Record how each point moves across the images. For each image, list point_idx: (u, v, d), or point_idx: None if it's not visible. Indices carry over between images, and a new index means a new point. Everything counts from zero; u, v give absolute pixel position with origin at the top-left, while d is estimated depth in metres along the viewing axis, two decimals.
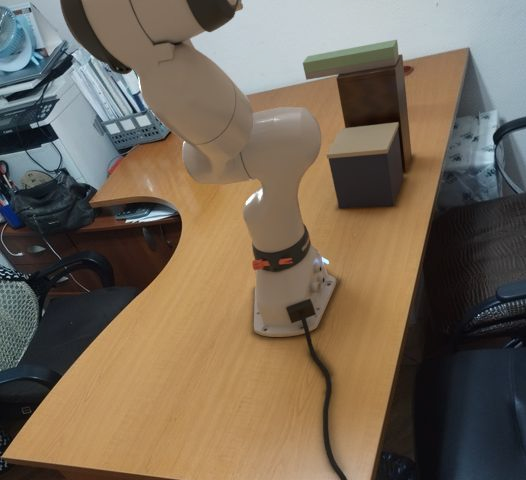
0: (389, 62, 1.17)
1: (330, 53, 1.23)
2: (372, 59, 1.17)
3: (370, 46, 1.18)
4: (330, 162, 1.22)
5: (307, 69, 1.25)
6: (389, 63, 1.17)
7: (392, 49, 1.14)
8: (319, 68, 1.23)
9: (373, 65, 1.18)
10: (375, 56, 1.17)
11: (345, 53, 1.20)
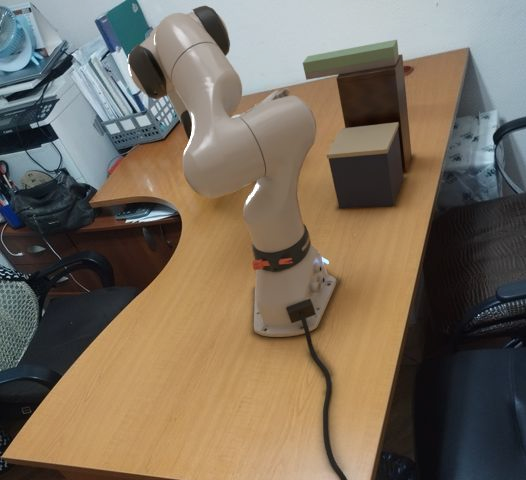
0: (389, 62, 1.17)
1: (330, 53, 1.23)
2: (372, 59, 1.17)
3: (370, 46, 1.18)
4: (330, 162, 1.22)
5: (307, 69, 1.25)
6: (389, 63, 1.17)
7: (392, 49, 1.14)
8: (319, 68, 1.23)
9: (373, 65, 1.18)
10: (375, 56, 1.17)
11: (345, 53, 1.20)
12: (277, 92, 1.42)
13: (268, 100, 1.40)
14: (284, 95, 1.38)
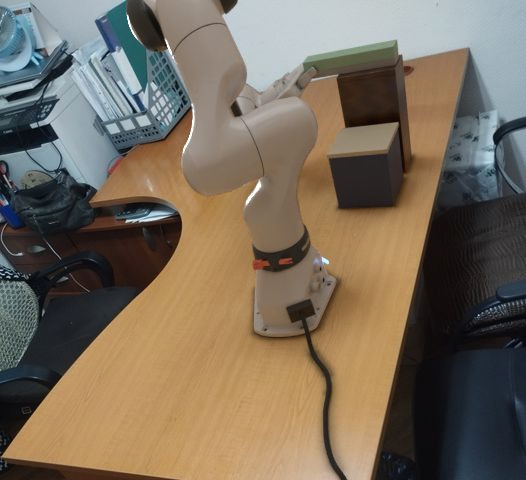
0: (389, 62, 1.17)
1: (330, 53, 1.23)
2: (372, 59, 1.17)
3: (370, 46, 1.18)
4: (330, 162, 1.22)
5: (307, 69, 1.24)
6: (389, 63, 1.17)
7: (392, 49, 1.14)
8: (319, 68, 1.23)
9: (373, 65, 1.18)
10: (375, 56, 1.17)
11: (345, 53, 1.20)
12: None
13: (302, 67, 1.30)
14: None
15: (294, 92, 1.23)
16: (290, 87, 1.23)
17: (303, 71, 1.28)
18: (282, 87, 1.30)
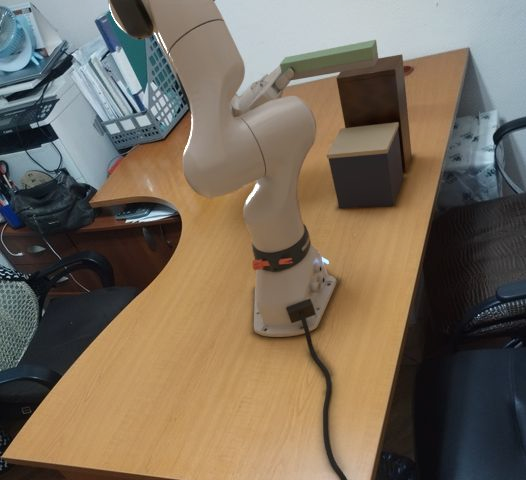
0: (368, 63, 1.12)
1: (308, 54, 1.18)
2: (350, 60, 1.13)
3: (348, 46, 1.14)
4: (330, 162, 1.22)
5: (284, 71, 1.20)
6: (368, 64, 1.13)
7: (371, 49, 1.10)
8: (297, 69, 1.19)
9: (352, 66, 1.14)
10: (354, 57, 1.13)
11: (323, 54, 1.15)
12: None
13: (280, 68, 1.26)
14: None
15: (271, 95, 1.19)
16: (266, 89, 1.18)
17: (281, 73, 1.24)
18: (260, 89, 1.26)
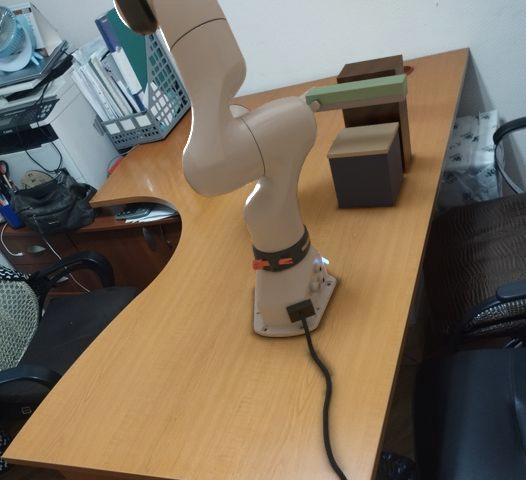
0: (398, 98, 1.09)
1: (334, 86, 1.15)
2: (379, 94, 1.10)
3: (377, 80, 1.11)
4: (330, 162, 1.22)
5: (310, 102, 1.17)
6: (397, 99, 1.10)
7: (401, 85, 1.07)
8: (323, 102, 1.16)
9: (380, 100, 1.11)
10: (383, 92, 1.09)
11: (351, 87, 1.12)
12: None
13: (304, 98, 1.22)
14: None
15: None
16: None
17: None
18: None
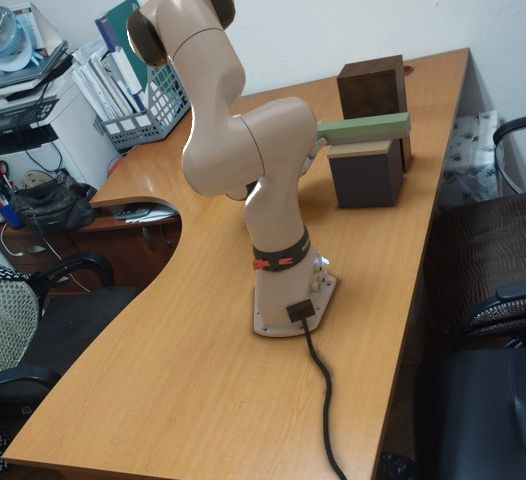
0: (401, 134, 1.15)
1: (341, 122, 1.21)
2: (384, 131, 1.16)
3: (382, 117, 1.16)
4: (330, 162, 1.22)
5: (317, 137, 1.23)
6: (401, 136, 1.15)
7: (405, 123, 1.13)
8: (330, 137, 1.22)
9: (385, 136, 1.17)
10: (387, 129, 1.15)
11: (357, 124, 1.18)
12: None
13: None
14: None
15: (305, 162, 1.21)
16: None
17: None
18: None
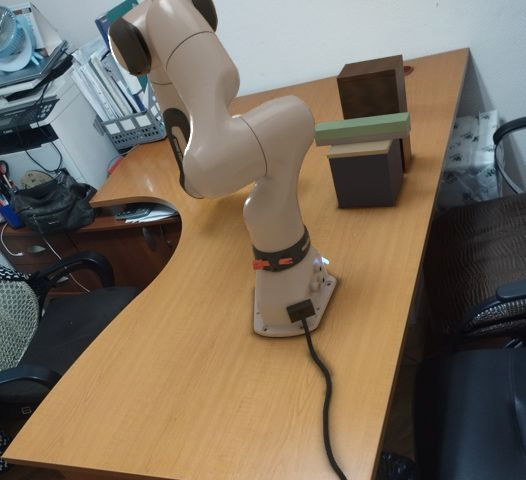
0: (401, 134, 1.15)
1: (341, 122, 1.21)
2: (384, 131, 1.16)
3: (382, 117, 1.16)
4: (330, 162, 1.22)
5: (317, 137, 1.23)
6: (401, 136, 1.15)
7: (405, 123, 1.13)
8: (330, 137, 1.22)
9: (385, 136, 1.17)
10: (387, 129, 1.15)
11: (357, 124, 1.18)
12: None
13: None
14: None
15: None
16: None
17: None
18: None
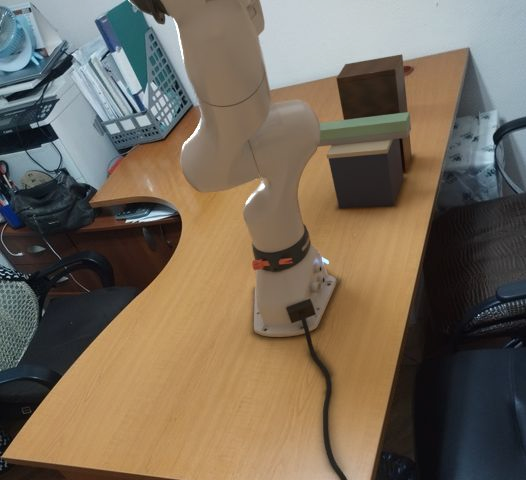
0: (401, 134, 1.15)
1: (341, 122, 1.21)
2: (384, 131, 1.16)
3: (382, 117, 1.16)
4: (330, 162, 1.22)
5: None
6: (401, 136, 1.15)
7: (405, 123, 1.13)
8: (330, 137, 1.22)
9: (385, 136, 1.17)
10: (387, 129, 1.15)
11: (357, 124, 1.18)
12: None
13: None
14: None
15: None
16: None
17: None
18: None
